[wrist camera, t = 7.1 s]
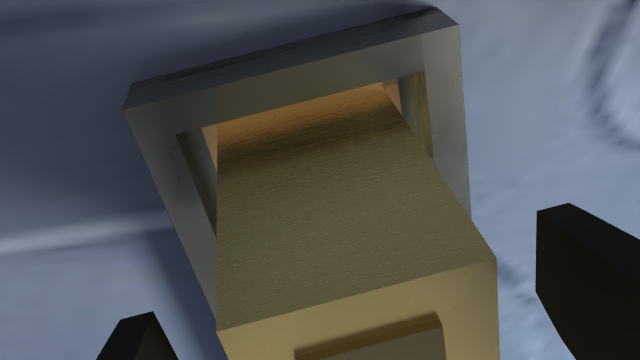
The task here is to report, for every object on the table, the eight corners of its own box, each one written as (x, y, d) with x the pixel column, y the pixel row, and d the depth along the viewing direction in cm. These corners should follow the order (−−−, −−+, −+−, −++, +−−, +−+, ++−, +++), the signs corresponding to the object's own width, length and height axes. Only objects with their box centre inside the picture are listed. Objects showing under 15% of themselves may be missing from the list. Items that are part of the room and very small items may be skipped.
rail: (474, 459, 23) (488, 493, 21) (309, 504, 22) (314, 541, 21) (435, 6, 12) (459, 24, 11) (131, 83, 12) (121, 109, 11)
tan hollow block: (405, 225, 15) (506, 431, 10) (262, 262, 15) (285, 491, 10) (385, 91, 13) (501, 265, 7) (217, 134, 13) (215, 341, 7)
